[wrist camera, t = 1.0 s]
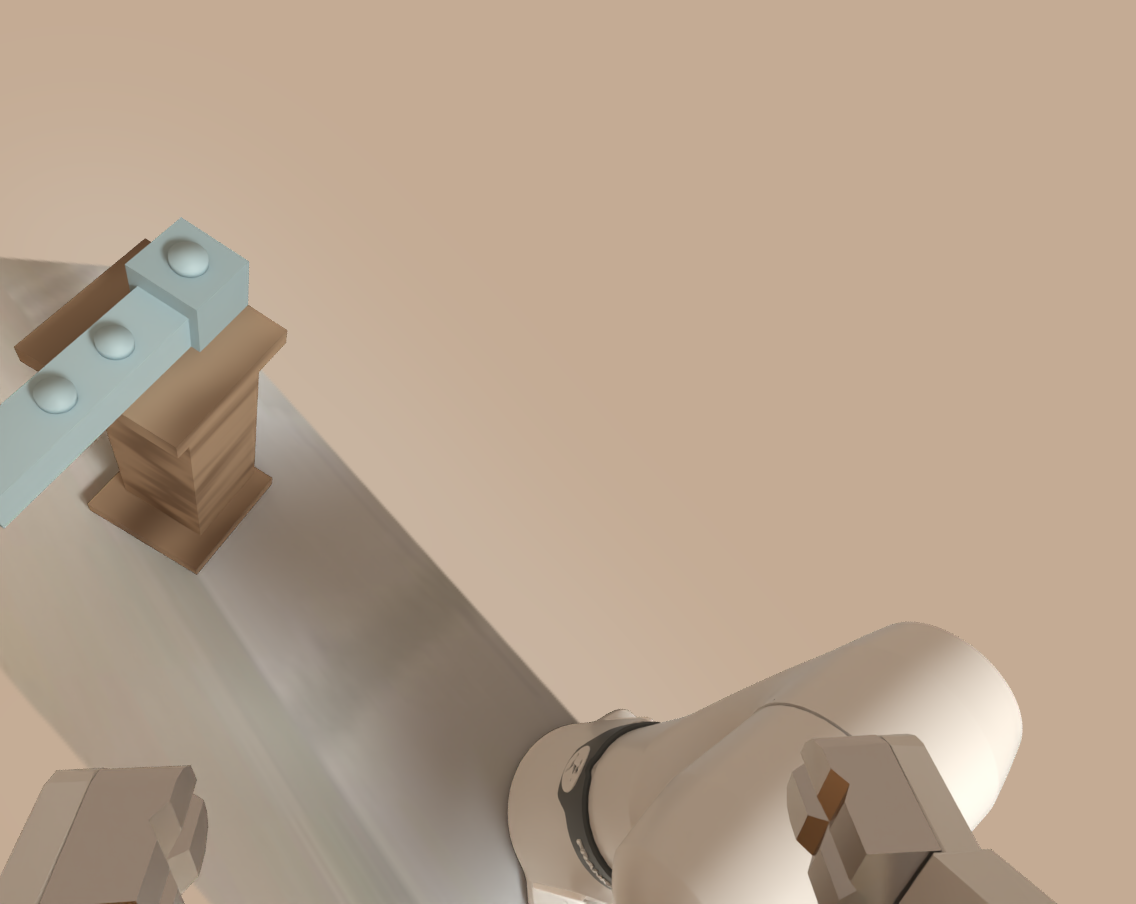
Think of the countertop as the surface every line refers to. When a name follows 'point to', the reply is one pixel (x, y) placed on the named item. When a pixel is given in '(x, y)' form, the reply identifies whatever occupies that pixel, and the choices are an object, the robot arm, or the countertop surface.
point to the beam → (118, 358)
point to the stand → (177, 428)
